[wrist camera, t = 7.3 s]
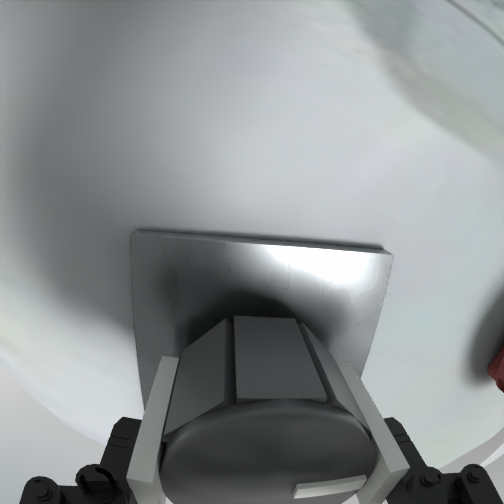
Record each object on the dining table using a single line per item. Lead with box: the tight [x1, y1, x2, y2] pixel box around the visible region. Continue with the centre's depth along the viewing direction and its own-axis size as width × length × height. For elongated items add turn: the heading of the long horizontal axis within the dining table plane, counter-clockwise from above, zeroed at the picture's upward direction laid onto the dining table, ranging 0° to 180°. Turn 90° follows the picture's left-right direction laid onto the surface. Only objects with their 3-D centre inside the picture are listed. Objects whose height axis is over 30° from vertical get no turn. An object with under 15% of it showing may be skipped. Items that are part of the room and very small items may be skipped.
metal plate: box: [131, 230, 394, 409], centre depth 13 cm, size 12×12×5 cm
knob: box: [159, 316, 376, 504], centre depth 10 cm, size 7×7×6 cm
